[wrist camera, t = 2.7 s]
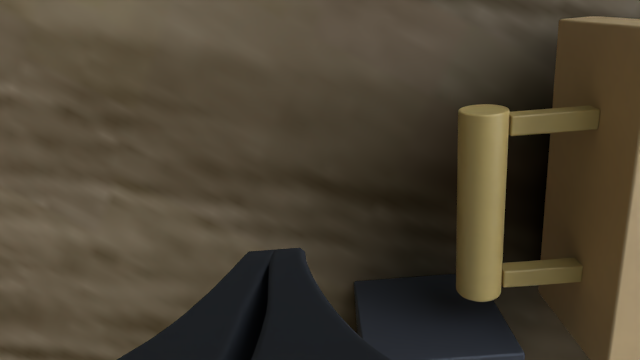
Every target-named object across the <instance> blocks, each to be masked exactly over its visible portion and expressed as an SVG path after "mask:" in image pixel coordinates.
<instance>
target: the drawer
mask: <svg viewBox="0 0 640 360" xmlns="http://www.w3.org/2000/svg"><path fill="white" fill-rule="evenodd" d="M546 133H550V145H549V158H548V171H547V184H546V197H545V211H544V224H543V237H542V250H541V260H535V261H521V262H508V263H502V261H503V240H504V219H505V198H506V177H507V155H508V134H509V135H510V136H521V135H533V134H546ZM501 284H502V286H503V287H504V288H506V287H520V286H533V285H539V289H538V292H539V293H540V295H541V296H542V297H543V299H544V300H545V301H546V303H547V304H548V305H549V307H550V308H551V309H552V311H553V312H554V313H555V314H556V316H557V317H558V318H559V320H560V321H561V322H562V324H563V325H564V326H565V328H566V329H567V330H568V332H569V333H570V334H571V336H572V337H573V338H574V340H575V341H576V342H577V343H578V345H579V346H580V347H581V349H582V350H583V351H584V353H585V354H586V355H587V357H588V358H589V359H590V360H640V19H630V18H615V17H599V16H591V17H579V18H567V19H561V20H559V27H558V41H557V54H556V67H555V80H554V93H553V106H552V108H551V109H538V110H526V111H513V112H510V111H509V109H508V108H507V107H504V106H500V105H492V104H480V105H470V106H466V107H463V108H460V109H459V111H458V166H457V246H456V290H457V292H458V293H459V294H460V295H461V296H462V297H464V298H466V299H468V300H472V301H477V302H486V301H491V300H494V299H496V298H497V297H499V295H500V293H501Z"/></svg>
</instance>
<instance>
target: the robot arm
mask: <svg viewBox="0 0 640 360" xmlns="http://www.w3.org/2000/svg"><path fill="white" fill-rule="evenodd" d="M117 360H391V359H390V358H388V357H386V356H385V355H383V354H382V353H380V352H379V351H378V350H376V349H375V348H374V347H372V346H371V345H370V344H369V343H367V342H366V341H365V340H363V339H362V338H361V337H360V336H359V335H358V334H357V333H356V332H355V331H354V330H353V329H352V328H351V327H350V326H349V325H348V324H347V323H346V322H345V321H344V320H343V319H342V318H341V317H340V315H339V314H338V313H337V312H336V311H335V309H334V308H333V307H332V306H331V304H330V303H329V301H328V300H327V299H326V297H325V296H324V294H323V293H322V291H321V290H320V288H319V286H318V285H317V283H316V281H315V280H314V278H313V276H312V274H311V272H310V269H309V267H308V265H307V262H306V255H305V251H303V250H302V249H301V248H290V249H277V250H264V251H251V252H248V253H247V254H246V255H245V256H244V257H243V258H242V259H241V260H240V261H239V262H238V263H237V264H236V265H235V267H234V268H233V269H232V270H231V271H230V272H229V273H228V274H227V275H226V276H225V277H224V278H223V279H222V280H221V281H220V282H219V283H218V284H217V285H216V286H215V287H214V288H213V289H212V290H211V291H210V292H209V293H208V294H207V295H206V296H204V297H203V298H202V299H201V300H200V301H199V302H198V303H197V304H195V305H194V306H193V307H192V308H191V309H190V310H189V311H188V312H186V313H185V314H184V315H183V316H182V317H180V318H179V319H178V320H177V321H175V322H174V323H173V324H171V325H170V326H169V327H167V328H166V329H164V330H163V331H162V332H160V333H159V334H157V335H156V336H155V337H153V338H152V339H150V340H149V341H147V342H146V343H144V344H142V345H141V346H139V347H137V348H136V349H134V350H132V351H131V352H129V353H127V354H126V355H124V356H122V357H121V358H119V359H117Z"/></svg>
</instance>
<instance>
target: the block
mask: <svg viewBox="0 0 640 360" xmlns="http://www.w3.org/2000/svg"><path fill="white" fill-rule="evenodd" d="M354 292H355V307H356V322H357V334H358V335H359V336H360V337H361V338H362V339H363V340H365V341H366V342H367V343H369V344H370V345H371V346H372V347H374V348H375V349H376V350H378V351H379V352H380V353H382V354H383V355H385V356H386V357H388V358H390V359H391V360H524V357H525V354H524V352H523V350H522V348H521V346H520V345H519V343H518V341H517V340H516V338H515V336H514V335H513V333H512V331H511V329H510V328H509V326H508V324H507V323H506V321H505V319H504V318H503V316H502V314H501V312H500V311H499V309H498V307H497V306H496V304H495V302H494V301H493V300H491V301H486V302H477V301H472V300H468V299H466V298H464V297H462V296H461V295H460V294H459V293H458V292H457V290H456V274H448V275H434V276H421V277H407V278H394V279H380V280H367V281H355V282H354Z"/></svg>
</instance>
